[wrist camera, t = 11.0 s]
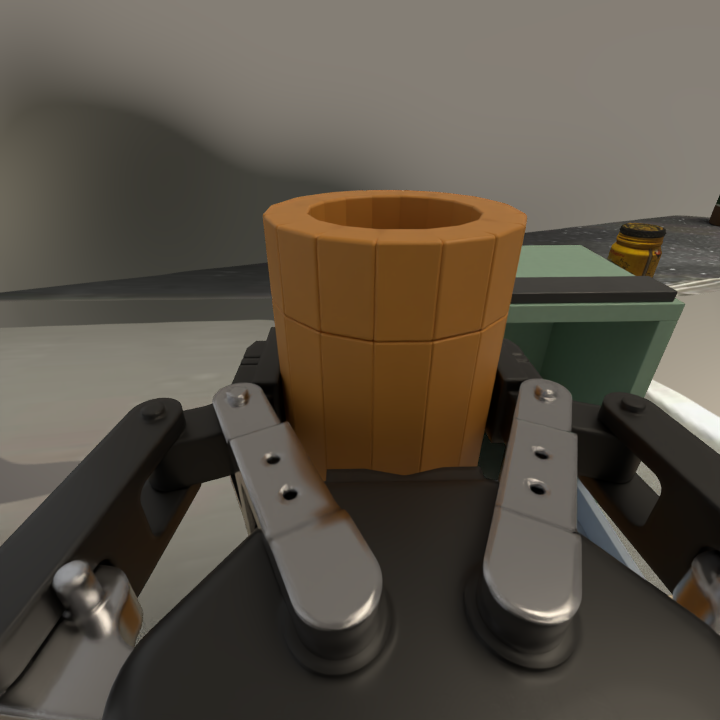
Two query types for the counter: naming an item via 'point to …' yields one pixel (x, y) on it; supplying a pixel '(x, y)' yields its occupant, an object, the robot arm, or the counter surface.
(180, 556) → the counter surface
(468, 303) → the jar
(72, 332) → the counter surface
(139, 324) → the counter surface
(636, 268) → the condiment
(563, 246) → the green open box
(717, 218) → the beer bottle
